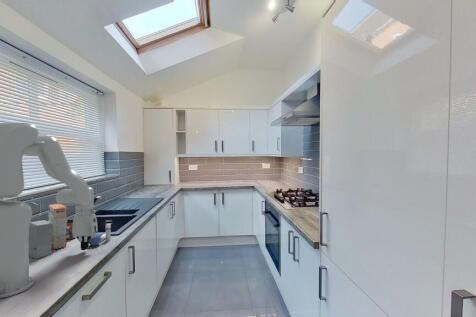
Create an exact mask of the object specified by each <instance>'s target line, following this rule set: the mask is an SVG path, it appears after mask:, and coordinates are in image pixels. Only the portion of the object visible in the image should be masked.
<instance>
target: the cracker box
mask: <svg viewBox="0 0 476 317" xmlns="http://www.w3.org/2000/svg"><path fill="white" fill-rule="evenodd" d="M67 211H68V207H66V205H61V204H59V203H54V204H48V221H49V222H51V223H53V228H52V242H51V249H53V250H57V249H61V248H66V247H67V239H66V226H67V222H68V218H67V216H68V215H67V214H68V212H67Z"/></svg>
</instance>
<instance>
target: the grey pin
mask: <svg viewBox="0 0 476 317" xmlns="http://www.w3.org/2000/svg"><path fill="white" fill-rule="evenodd" d="M111 228H112V227H111V223H107V224H105V233H106V238H105V242H110V241H111V231H112V230H111Z"/></svg>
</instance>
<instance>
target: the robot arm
mask: <svg viewBox="0 0 476 317" xmlns="http://www.w3.org/2000/svg"><path fill="white" fill-rule="evenodd" d="M23 156H28V157H38V160H39V162H40V163H41V166H42V167H43V169H44V171H45V173H46V175H47V176H48V177H50V178H52V179H53V180H55V181H58V182H60V183H63V184H65V185H66V186H68V187H69V188H64V189H61V190H59V191H58V192H57V193H56V195H55V201H56V202H57V204H61V205H64V206H68V207H69V206H72V207H73V206H74V207H75V215H74V217H73V218H74V219H73V225H72V234H73V238H75V239H77V240H78V242H79V243H80V251H86V250H87V249H89V246H90V244H89V240H90V239H91V238H94V237H96V234H98V219H97V216H96V214H95V213H96V212H97V210H96V209H94V207H95V206H94V203H95V202H94V196H95V195H94V194H95V192H94V188H93V187H91V186H89V184H88V183H87V181H86V180H85V178H83V177H82V176H81V175H80V174H79V173H78V172H77V171H76V170H74V169H73V168H72V167H71V166H70V164H69V161H68V160H67V158H66V155H65V153H64V151H63V148H62V147H61V144H60V142H59V141H58V139H57V138H55V137H54V136H49V135H40V132H39V129H38V127H37V126H36V125H34V124H32V123H30V122H29V123H28V122H0V299H4V298H7V297H12V296H15V295H17V294H18V295H19V294H20V293H22V292H25V291H26V290H29V289H30V288H31V287H32V286H33V285H34V284H35V278H34V277H32V276H30V256H29V227H30V222H32V218H33V209H32V207H31V206H30V205H29V204H28V203H27V202H24V201H20V200H9V198H10V199H11V198H15V197H18V196H20V195H21V194H22V193H23V191H24V189H25V179H24V169H23ZM5 198H6V199H5Z"/></svg>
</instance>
